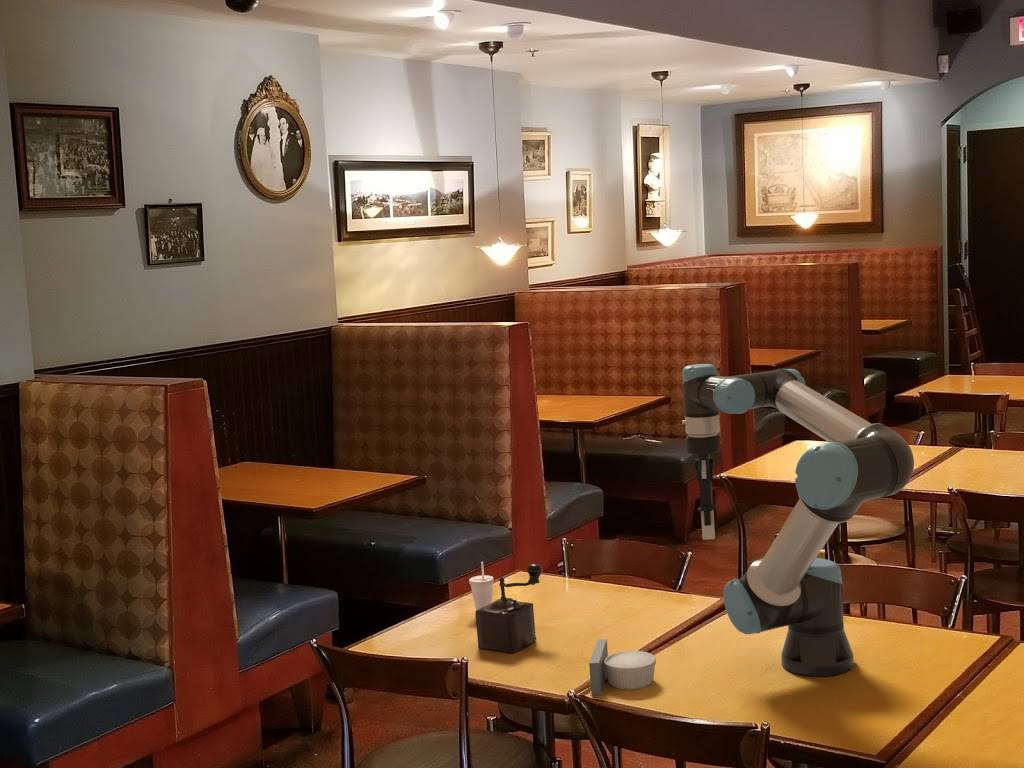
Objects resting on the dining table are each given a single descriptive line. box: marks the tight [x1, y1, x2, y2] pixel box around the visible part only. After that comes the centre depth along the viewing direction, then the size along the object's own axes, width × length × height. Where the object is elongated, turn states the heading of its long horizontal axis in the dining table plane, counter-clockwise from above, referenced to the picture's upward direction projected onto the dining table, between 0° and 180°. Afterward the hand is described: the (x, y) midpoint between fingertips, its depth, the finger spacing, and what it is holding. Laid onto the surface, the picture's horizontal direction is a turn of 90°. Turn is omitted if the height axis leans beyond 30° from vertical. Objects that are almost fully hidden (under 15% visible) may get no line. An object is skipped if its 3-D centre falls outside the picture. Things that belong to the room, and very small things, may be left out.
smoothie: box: [468, 561, 495, 611], centre depth 315 cm, size 6×6×14 cm
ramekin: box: [603, 650, 657, 691], centre depth 261 cm, size 11×11×5 cm
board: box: [588, 638, 609, 696], centre depth 262 cm, size 2×15×7 cm, turn 169°
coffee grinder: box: [475, 563, 544, 655], centre depth 292 cm, size 16×11×18 cm
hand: (708, 538), depth 272 cm, fingers closed
